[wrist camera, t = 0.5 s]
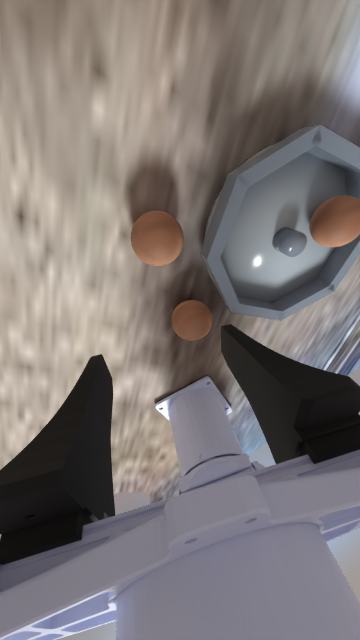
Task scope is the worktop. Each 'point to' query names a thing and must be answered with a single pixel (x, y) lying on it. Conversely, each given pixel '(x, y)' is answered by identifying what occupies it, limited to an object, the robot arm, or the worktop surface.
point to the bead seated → (336, 221)
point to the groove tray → (281, 225)
